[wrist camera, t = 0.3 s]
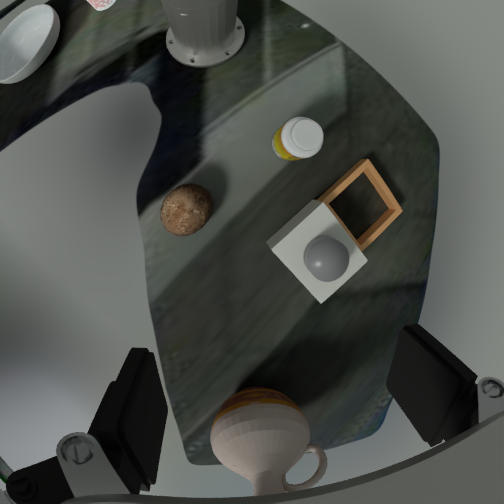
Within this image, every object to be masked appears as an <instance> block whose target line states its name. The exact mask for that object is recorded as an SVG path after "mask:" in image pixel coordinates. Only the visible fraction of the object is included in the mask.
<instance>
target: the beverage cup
mask: <svg viewBox="0 0 504 504" xmlns="http://www.w3.org/2000/svg"><path fill="white" fill-rule="evenodd" d="M87 1H88V2H89V3H90V4H91V5H92V6H93V7H94V8H95V9H96V10H105V9H107V8H109V7H110V6H112V5H113V4H114V2H115V1H116V0H87Z"/></svg>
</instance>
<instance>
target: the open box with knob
mask: <svg viewBox="0 0 504 504" xmlns="http://www.w3.org/2000/svg"><path fill="white" fill-rule="evenodd" d="M363 171H364V173H365V174H366V176H367V177H368V178H369V180H370V181H371V183H372V184H373V185H374V187H375V188H376V190H377V191H378V193H379V194H380V196H381V197H382V199H383V200H384V202H385V203H386V205H387V206H388V208H389V209H388V210H387V211H386V212H385V213H384V214H383V215H382V216H381V217H380V218H379V219H378V220H377V221H376V222H375V223H374V224H373V225H372V226H371V227H370V228H369V229H368V230H367V231H366V232H365V233H363V234H362V235H361V236H360V237H359V238H358V239H357V240H356V239H355V238H354V236H353V235H352V234H351V232H350V231H349V230H348V228H347V227H346V226H345V224H344V223H343V222H342V220H341V219H340V218H339V217H338V215H337V214H336V213H335V211H334V210H333V209H332V208H331V206H330V205H329V203H330V202H331V201H332V200H333V199H334V198H335V197H336V196H337V195H338V194H340V193H341V192H342V191H343V190H344V189H345V188H346V187H347V186H348V185H349V184H350V183H351V182H352V181H354V180H355V179H356V178H357V177H358V176H359V175H360V174H361V173H362V172H363ZM402 211H403V210H402V209H401V207H400V206H399V204H398V202H397V201H396V199H395V198H394V196H393V194H392V193H391V191H390V190H389V188H388V187H387V185H386V184H385V182H384V181H383V179H382V178H381V176H380V175H379V173H378V172H377V171H376V169H375V168H374V166H373V165H372V163H371V162H370V161H369V159H361V160H360V161H359V162H358V163H356V164H355V165H354V166H353V167H352V168H351V169H350V170H349V171H348V172H347V173H346V174H344V175H343V176H342V177H341V178H340V179H339V180H338V181H337V182H336V183H335V184H334V185H332V186H331V187H330V188H329V189H328V190H327V191H326V192H325V193H324V194H323V195H322V196H320V197H319V198H318V199H317V200H311V201H310V202H309V203H308V204H307V205H306V206H305V207H304V208H303V209H302V210H301V211H299V212H298V213H297V214H296V215H295V216H294V217H293V218H292V219H291V220H290V221H288V222H287V223H286V224H285V225H284V226H283V227H282V228H281V229H280V230H279V231H277V232H276V233H275V234H274V235H273V236H272V237H271V238H270V239H269V240H268V241H266V242H267V244H268V246H269V247H270V249H271V250H272V251H273V252H274V253H275V254H276V255H277V257H278V258H279V259H280V260H281V261H282V262H283V263H284V264H285V265H286V266H287V267H288V268H289V270H290V271H291V272H292V273H293V274H294V275H295V276H296V277H297V278H298V279H299V280H300V281H301V283H302V284H303V285H304V286H305V287H306V288H307V289H308V290H309V291H310V292H311V293H312V295H313V296H314V297H315V298H316V299H317V300H318V301H319V302H320V303H323V302H324V301H325V300H326V299H327V298H328V297H329V296H330V295H332V294H333V293H334V292H335V291H336V290H337V289H338V288H339V287H340V286H341V285H343V284H344V283H345V282H346V281H347V280H348V279H349V278H350V277H351V276H352V275H353V274H354V273H355V272H357V271H358V270H359V269H360V268H361V267H362V266H363V265H364V264H365V263H366V262H367V261H368V260H367V259H366V258H365V256H364V255H363V253H362V251H363V250H364V249H365V248H366V247H368V246H369V245H370V244H371V243H372V242H373V241H374V240H375V239H376V238H377V237H378V236H379V235H380V234H381V233H382V232H383V231H384V230H385V229H386V228H387V227H388V226H389V225H390V224H391V223H392V222H393V221H394V219H395V218H396V217H397V216H398V215H399V214H400V213H401V212H402Z"/></svg>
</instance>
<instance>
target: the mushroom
mask: <svg viewBox="0 0 504 504" xmlns="http://www.w3.org/2000/svg"><path fill="white" fill-rule="evenodd" d="M212 211H213V200H212V198H211V196H210V193H209V192H208V191H207V190H206V189H205V188H203V187H202V186H200V185H195V184H186V185H181V186H179V187H178V188H176V189H174V190H172V191H171V192H170V193H169V194H168V195H167V197H166V198H165V199H164V201H163V204H162V207H161V221H162V223H163V225H164V227H165V229H166V230H167V231H168V232H170V233H172V234H174V235H176V236H188V235H191V234H193V233H196V232H197V231H198V230H200V229H201V228H202V227H203V226H204V225H205V224H206V223H207V221H208V220H209V218H210V216H211V214H212Z"/></svg>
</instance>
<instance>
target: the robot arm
mask: <svg viewBox="0 0 504 504" xmlns="http://www.w3.org/2000/svg"><path fill="white" fill-rule="evenodd" d="M161 2H162V5H163V8H164V13H166V16H167V19H168V22H169V24H170V28H169V29H168V32H167V35H166V44H167V48H168V50H169V52H170V53H171V55H172V56H173V57H174V58H175V59H176V60H177V61H179V62H181V63H182V64H185V65H188V66H192V67H211V66H215V65H219V64H221V63H224V62H226V61H228V60H229V59H231V58H232V57H233V56H234V55H235V54H236V53H238V51H239V50H240V48H241V47H242V44H243V42H244V37H245V30H244V26H243V24H242V22H241V20H240V19H239V18H238V17H237V6H238V0H161ZM238 29H240V30H238ZM171 43H172V44H171ZM227 54H229V55H227ZM193 61H194V63H192V62H193ZM477 377H478V376H477V375H476V374H475V373H474V372H473V371H472V370H470V368H468V367H467V366H466V365H465V364H464V363H463V362H462V361H461V360H460V359H458V358H457V357H456V356H455V355H454V354H452V352H450V351H449V350H448V349H447V348H446V347H445V346H444V345H443V344H441V343H440V342H439V341H438V340H437V339H436V338H434V337H433V336H432V335H431V334H430V333H428V332H427V331H426V330H425V329H424V328H423V327H421V326H420V325H419V324H412V325H407V326H405V327H404V328H403V330H401V332H400V334H399V338H398V342H397V346H396V350H395V353H394V357H393V361H392V364H391V368H390V371H389V375H388V378H387V381H386V386H387V389H388V391H389V392H390V393H391V395H392V396H393V398H394V399H395V400H396V402H397V403H398V405H399V406H400V407H401V409H402V410H403V412H404V413H405V414H406V416H407V417H408V419H409V420H410V422H411V423H412V425H413V426H414V427H415V429H416V430H417V432H418V433H419V434H420V436H421V438H422V439H423V440H424V441H425V442H428V444H429V445H430V447H433V446H435V445H437V444H439V443H441V442H442V440H443V439H444V440H445V442H444V443H442V444H440V445H438V446H436V447H434V448H432V449H430V450H428V451H426V452H423V453H421V454H419V455H417V456H414V457H412V458H409V459H407V460H405V461H402V462H399V463H397V464H394V465H392V466H389V467H387V468H383V469H381V470H378V471H375V472H372V473H369V474H365V475H362V476H359V477H356V478H352V479H348V480H345V481H341V482H337V483H333V484H328V485H324V486H319V487H315V488H310V489H304V490H299V491H293V492H286V493H279V494H271V495H261V496H249V497H231V498H186V497H168V496H152V495H140V494H139V493H140V490H142V491H150V485H151V484H153V485H154V484H155V483H156V478H157V471H158V465H159V459H160V453H161V447H162V441H163V436H164V430H165V424H166V419H167V414H168V407H167V403H166V399H165V396H164V392H163V388H162V385H161V381H160V377H159V373H158V369H157V365H156V361H155V356H154V353H153V352H149V350H148V349H147V348H131V350H130V352H129V354H128V356H127V358H126V360H125V362H124V364H123V366H122V368H121V370H120V373H119V375H118V377H117V379H116V381H112V382H111V383H110V384H109V386H108V388H107V390H106V392H105V395H104V397H103V399H102V401H101V403H100V406H99V408H98V410H97V412H96V414H95V417H94V419H93V421H92V423H91V426H90V428H89V431H88V433H87V434H86V433H83V432H76V433H71V434H69V435H66V436H64V438H62V439H61V440H60V441H59V443H58V445H57V449H56V453H57V456H55V457H52V458H50V459H47V460H45V461H42V462H39V463H37V464H34V465H31V466H28V467H26V468H23V469H20V470H17V471H15V472H13V473H12V474H11V475H10V476H9V477H8V479H7V482H6V490H5V491H3V490H1V489H0V504H504V383H503V382H502V381H500V380H498V379H496V378H493V377H485V378H482V379H481V380H480V381H479V382H478V384H475V381H476V379H477Z"/></svg>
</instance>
